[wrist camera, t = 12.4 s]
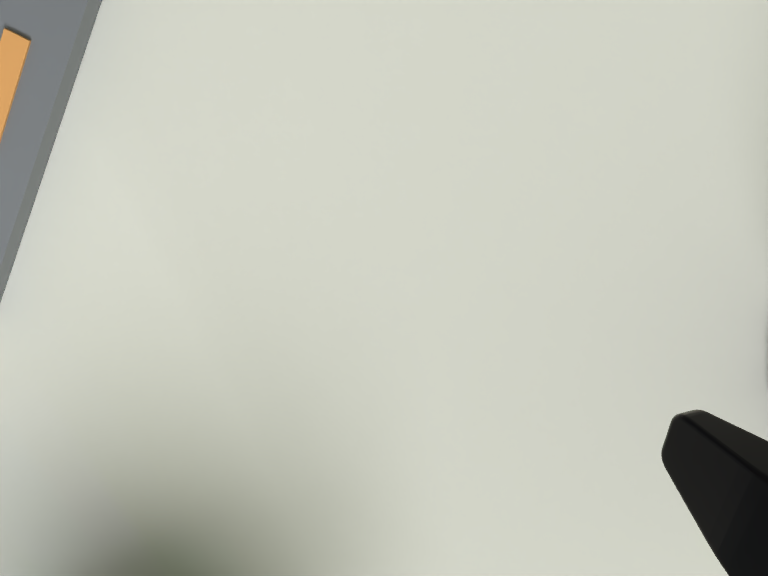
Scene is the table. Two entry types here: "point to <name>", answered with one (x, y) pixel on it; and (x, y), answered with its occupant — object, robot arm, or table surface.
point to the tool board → (33, 101)
